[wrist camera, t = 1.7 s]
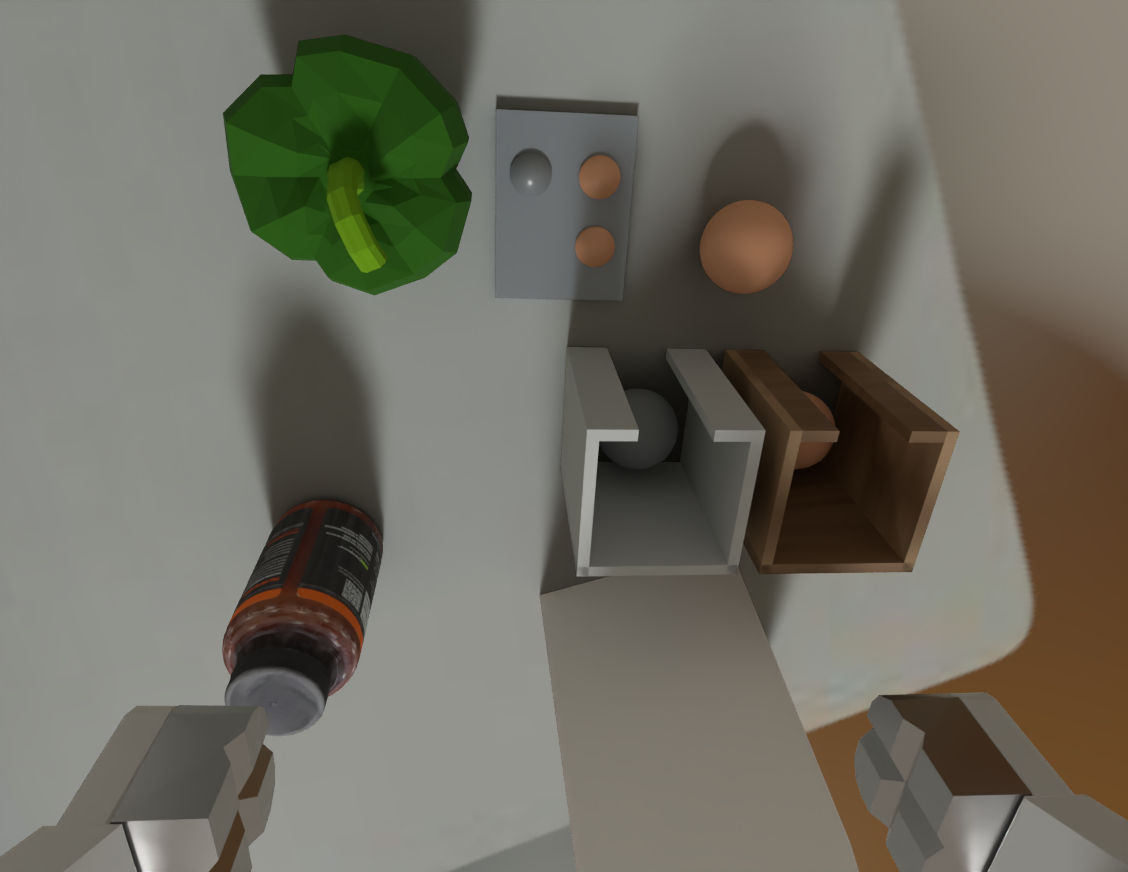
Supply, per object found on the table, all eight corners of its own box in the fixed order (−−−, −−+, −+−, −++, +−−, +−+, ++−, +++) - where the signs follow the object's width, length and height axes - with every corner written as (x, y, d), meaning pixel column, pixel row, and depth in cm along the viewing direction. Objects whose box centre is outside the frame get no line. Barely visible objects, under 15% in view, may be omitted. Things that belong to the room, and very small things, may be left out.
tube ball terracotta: (748, 377, 36) (776, 410, 33) (823, 378, 37) (858, 411, 33) (736, 445, 38) (760, 484, 35) (807, 446, 39) (839, 484, 35)
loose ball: (696, 191, 32) (720, 206, 28) (781, 194, 32) (817, 210, 29) (685, 279, 34) (706, 303, 30) (766, 281, 34) (797, 305, 30)
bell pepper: (260, 39, 28) (149, 26, 19) (471, 43, 28) (458, 32, 20) (294, 254, 32) (216, 325, 23) (479, 253, 32) (472, 322, 24)
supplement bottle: (258, 560, 39) (175, 729, 29) (296, 477, 37) (221, 630, 27) (360, 597, 41) (315, 768, 31) (403, 520, 39) (369, 678, 29)
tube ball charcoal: (594, 375, 36) (605, 409, 32) (672, 376, 36) (691, 409, 32) (589, 445, 37) (599, 484, 34) (663, 445, 38) (681, 484, 34)
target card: (496, 108, 30) (496, 109, 29) (637, 115, 30) (639, 116, 30) (495, 295, 33) (495, 298, 33) (621, 298, 34) (623, 301, 33)
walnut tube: (725, 349, 36) (790, 430, 28) (858, 351, 36) (959, 431, 28) (705, 470, 39) (759, 573, 31) (828, 470, 39) (911, 571, 31)
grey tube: (566, 346, 35) (586, 429, 27) (705, 349, 35) (765, 430, 27) (560, 470, 38) (576, 576, 30) (687, 470, 39) (736, 574, 31)
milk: (757, 683, 47) (1007, 1278, 24) (589, 727, 47) (676, 1348, 24) (728, 543, 41) (1019, 1141, 18) (539, 595, 42) (590, 1237, 19)
